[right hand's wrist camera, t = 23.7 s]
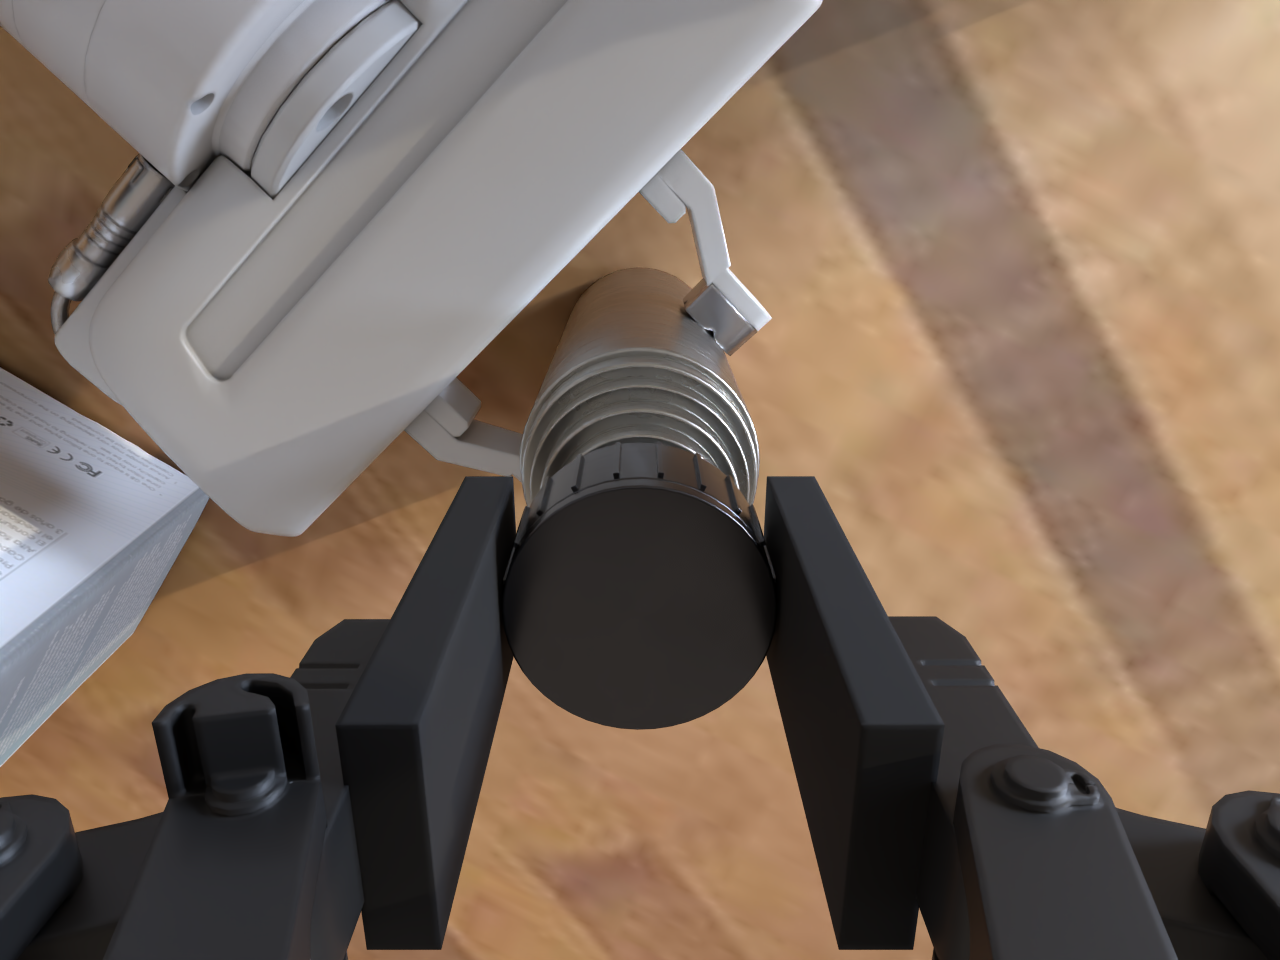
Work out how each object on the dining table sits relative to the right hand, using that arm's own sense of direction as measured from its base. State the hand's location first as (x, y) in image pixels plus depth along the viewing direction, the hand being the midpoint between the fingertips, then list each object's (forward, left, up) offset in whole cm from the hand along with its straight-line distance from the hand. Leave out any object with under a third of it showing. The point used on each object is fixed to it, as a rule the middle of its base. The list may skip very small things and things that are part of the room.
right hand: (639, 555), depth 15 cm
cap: (0, 0, +2) cm, 2 cm away
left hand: (0, +1, -10) cm, 10 cm away
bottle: (0, 0, -17) cm, 17 cm away
